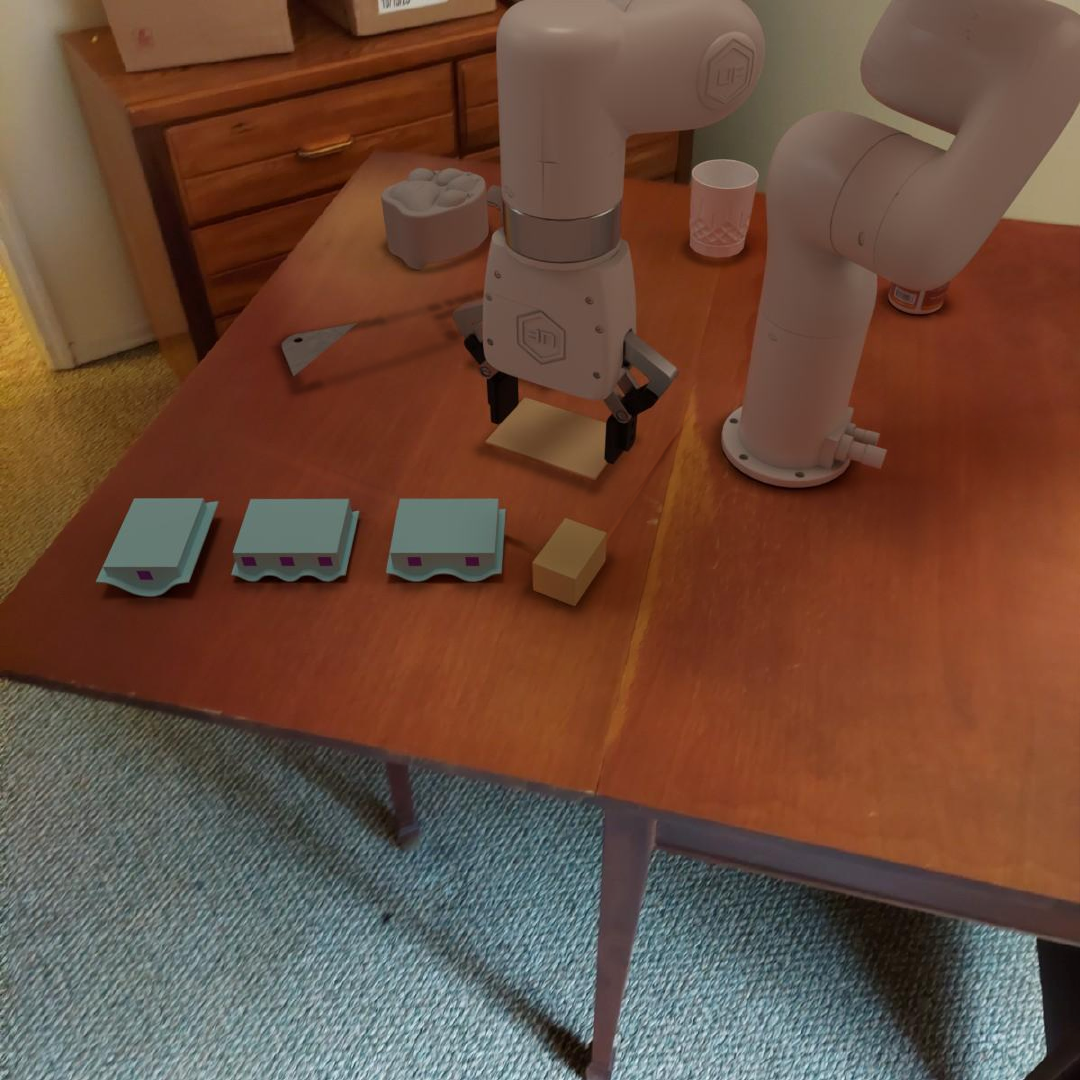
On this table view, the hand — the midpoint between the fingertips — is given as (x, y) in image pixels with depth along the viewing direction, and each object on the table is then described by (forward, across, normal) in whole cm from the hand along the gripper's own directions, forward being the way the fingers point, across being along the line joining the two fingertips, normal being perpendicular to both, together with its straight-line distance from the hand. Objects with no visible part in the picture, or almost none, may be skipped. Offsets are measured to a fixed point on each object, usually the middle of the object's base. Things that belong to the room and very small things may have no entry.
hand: (560, 433), depth 72 cm
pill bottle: (+14, +17, +57) cm, 61 cm away
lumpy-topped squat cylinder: (+15, -40, +43) cm, 61 cm away
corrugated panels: (+15, -20, -9) cm, 27 cm away
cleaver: (+15, -32, +24) cm, 43 cm away
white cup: (+15, -8, +58) cm, 60 cm away
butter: (+15, +1, 0) cm, 15 cm away
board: (+15, -8, +15) cm, 22 cm away
